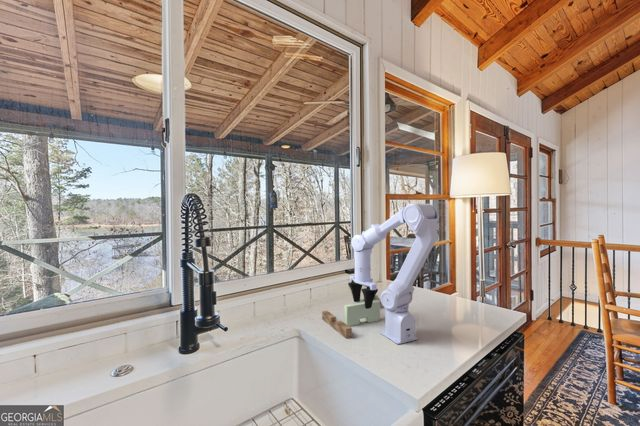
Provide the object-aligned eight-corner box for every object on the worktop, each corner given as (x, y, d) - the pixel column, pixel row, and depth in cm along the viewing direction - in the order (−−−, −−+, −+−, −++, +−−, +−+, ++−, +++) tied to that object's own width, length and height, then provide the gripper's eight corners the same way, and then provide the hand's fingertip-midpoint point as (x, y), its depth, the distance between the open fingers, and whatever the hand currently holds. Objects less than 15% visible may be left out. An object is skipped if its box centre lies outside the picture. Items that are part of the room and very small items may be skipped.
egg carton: (378, 304, 129) (378, 294, 128) (384, 309, 121) (384, 299, 121) (354, 304, 127) (354, 295, 127) (359, 310, 120) (359, 300, 120)
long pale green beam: (376, 318, 111) (376, 299, 111) (379, 320, 109) (380, 301, 109) (344, 324, 105) (344, 305, 105) (347, 326, 103) (347, 306, 103)
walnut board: (351, 337, 95) (351, 328, 95) (346, 338, 94) (346, 329, 94) (326, 318, 111) (326, 310, 111) (322, 319, 110) (322, 311, 110)
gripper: (383, 270, 102) (383, 309, 102) (360, 263, 115) (360, 297, 115) (366, 272, 99) (366, 312, 99) (345, 264, 112) (345, 300, 112)
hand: (362, 304), depth 107 cm, fingers open, 7 cm apart
